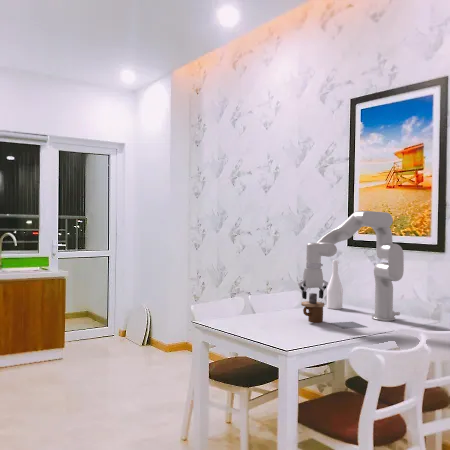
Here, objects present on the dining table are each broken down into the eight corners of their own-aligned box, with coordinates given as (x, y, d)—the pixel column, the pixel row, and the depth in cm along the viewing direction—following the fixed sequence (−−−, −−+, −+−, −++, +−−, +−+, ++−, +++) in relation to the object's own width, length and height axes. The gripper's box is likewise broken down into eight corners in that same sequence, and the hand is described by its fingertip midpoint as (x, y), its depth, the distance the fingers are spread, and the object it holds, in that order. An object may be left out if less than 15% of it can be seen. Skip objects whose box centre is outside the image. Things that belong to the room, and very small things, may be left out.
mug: (307, 325, 257) (308, 307, 256) (298, 322, 263) (299, 304, 263) (325, 323, 262) (326, 305, 262) (316, 320, 269) (316, 303, 269)
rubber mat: (352, 323, 265) (352, 321, 265) (368, 328, 251) (368, 327, 251) (327, 324, 260) (328, 322, 260) (342, 330, 247) (342, 328, 247)
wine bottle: (345, 308, 309) (346, 260, 309) (334, 309, 304) (335, 260, 304) (334, 306, 317) (335, 259, 317) (323, 307, 313) (324, 259, 312)
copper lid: (317, 303, 270) (317, 291, 270) (328, 306, 259) (328, 295, 259) (297, 303, 266) (297, 292, 266) (308, 307, 255) (308, 295, 255)
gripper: (324, 265, 269) (323, 296, 269) (295, 265, 263) (294, 297, 264) (331, 266, 262) (330, 299, 262) (302, 266, 256) (301, 300, 256)
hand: (312, 298), depth 263 cm, fingers open, 9 cm apart
